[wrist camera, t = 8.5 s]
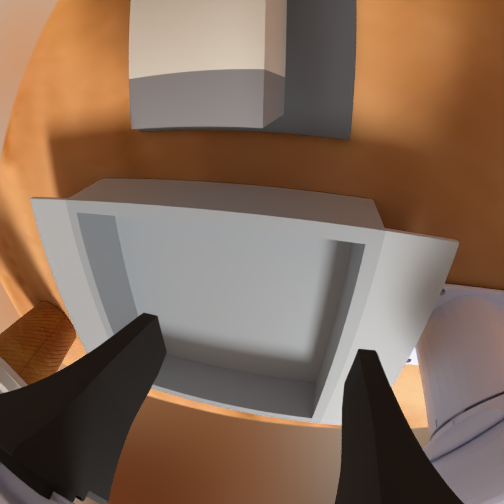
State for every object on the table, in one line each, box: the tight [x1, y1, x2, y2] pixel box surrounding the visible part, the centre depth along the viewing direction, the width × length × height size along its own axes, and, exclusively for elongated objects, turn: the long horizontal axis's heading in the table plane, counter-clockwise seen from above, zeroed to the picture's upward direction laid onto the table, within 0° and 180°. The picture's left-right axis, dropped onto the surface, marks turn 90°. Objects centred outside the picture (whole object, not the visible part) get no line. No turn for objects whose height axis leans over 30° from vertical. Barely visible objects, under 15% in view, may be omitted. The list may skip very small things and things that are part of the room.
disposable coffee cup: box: [0, 301, 76, 394], centre depth 25 cm, size 10×10×12 cm
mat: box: [140, 0, 356, 140], centre depth 12 cm, size 12×12×1 cm
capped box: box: [129, 0, 287, 129], centre depth 10 cm, size 5×9×6 cm, turn 179°
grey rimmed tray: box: [30, 178, 459, 425], centre depth 20 cm, size 26×18×4 cm
